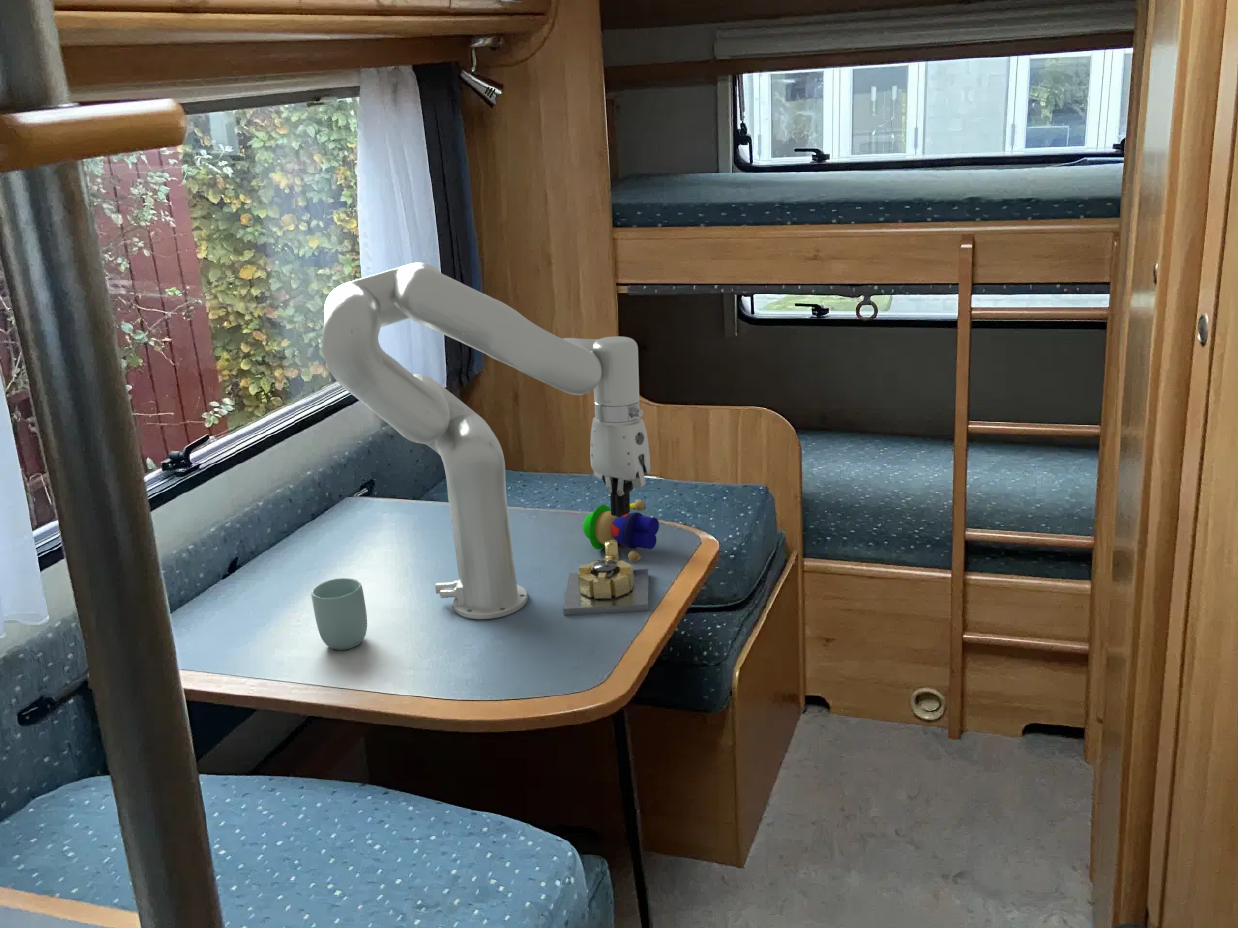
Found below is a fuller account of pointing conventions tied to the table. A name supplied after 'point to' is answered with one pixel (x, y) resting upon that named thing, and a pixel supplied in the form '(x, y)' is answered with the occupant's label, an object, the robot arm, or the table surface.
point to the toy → (622, 529)
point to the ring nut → (601, 583)
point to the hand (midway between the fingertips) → (620, 513)
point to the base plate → (624, 603)
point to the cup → (340, 612)
